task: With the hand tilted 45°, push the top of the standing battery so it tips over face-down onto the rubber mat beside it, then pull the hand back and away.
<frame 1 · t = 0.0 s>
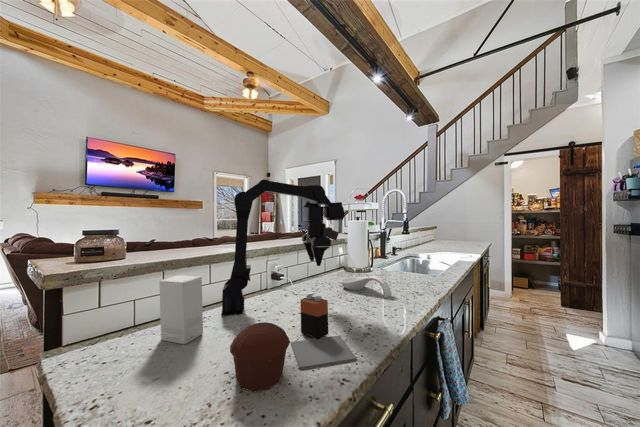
hand: (315, 263, 93), 15 cm above the countertop, tool pointing down, fingers open, 9 cm apart
spoon rest: (364, 291, 109), on the countertop
rubber mat: (321, 351, 60), on the countertop
muffin: (260, 377, 51), on the countertop
skincare box: (181, 338, 67), on the countertop
battery: (314, 334, 69), on the countertop, touching rubber mat
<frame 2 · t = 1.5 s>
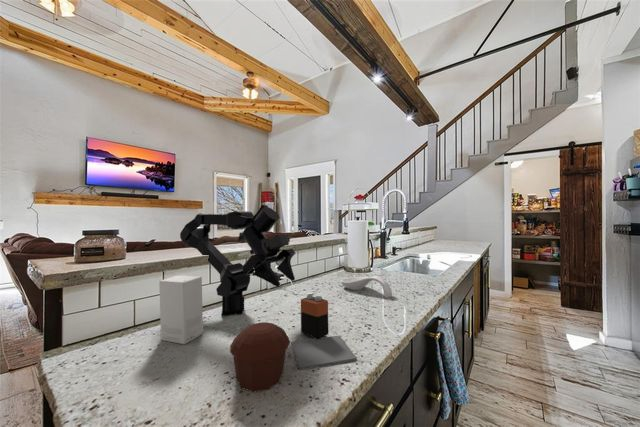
hand: (286, 282, 74), 12 cm above the countertop, tool tilted 45°, fingers open, 7 cm apart
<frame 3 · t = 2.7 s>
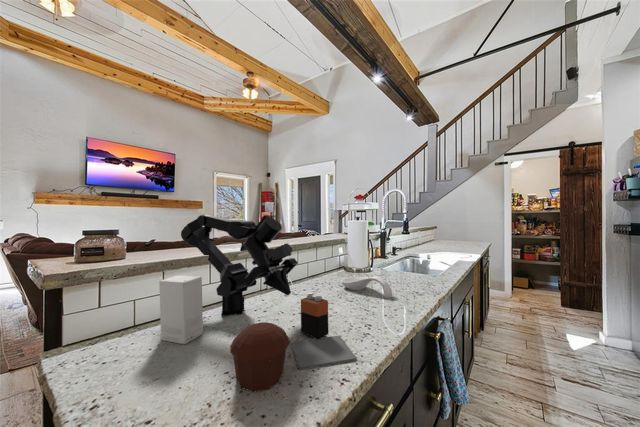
hand: (289, 294, 74), 9 cm above the countertop, tool tilted 45°, fingers closed
nothing on the countertop moved.
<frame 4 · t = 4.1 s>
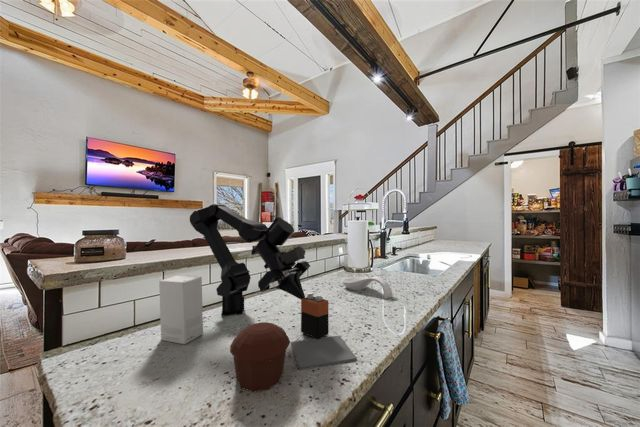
hand: (303, 298, 71), 9 cm above the countertop, tool tilted 45°, fingers closed
battery: (314, 334, 69), on the countertop, touching gripper, rubber mat
everything else where it was.
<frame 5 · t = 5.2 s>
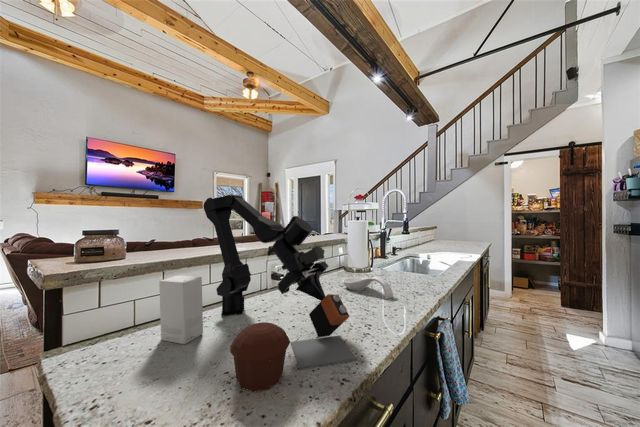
hand: (324, 300, 68), 10 cm above the countertop, tool tilted 45°, fingers closed
battery: (318, 325, 69), point 3 cm above the countertop, touching gripper, rubber mat
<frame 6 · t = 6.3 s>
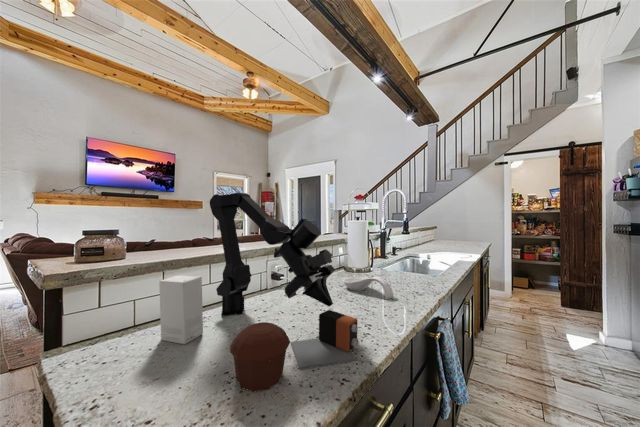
hand: (331, 305, 67), 9 cm above the countertop, tool tilted 45°, fingers closed
battery: (322, 324, 66), point 4 cm above the countertop, touching rubber mat
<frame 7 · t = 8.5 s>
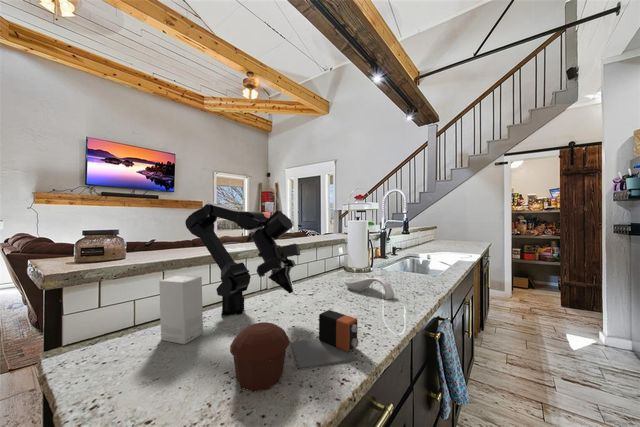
hand: (291, 292, 74), 10 cm above the countertop, tool tilted 35°, fingers closed
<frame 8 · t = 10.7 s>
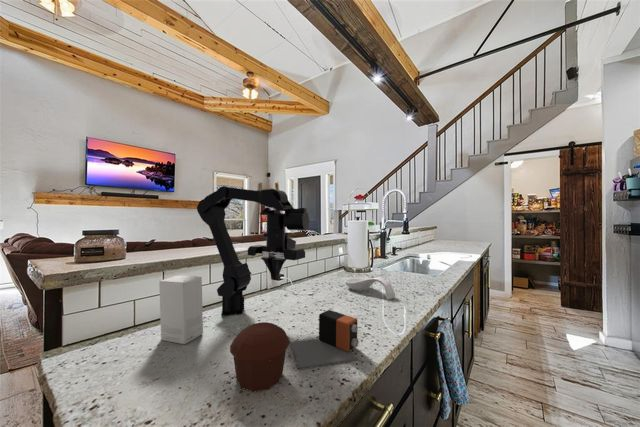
hand: (275, 279, 80), 12 cm above the countertop, tool pointing down, fingers closed
at the end: battery tilted 90°; battery touching rubber mat; the gripper is holding nothing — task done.
